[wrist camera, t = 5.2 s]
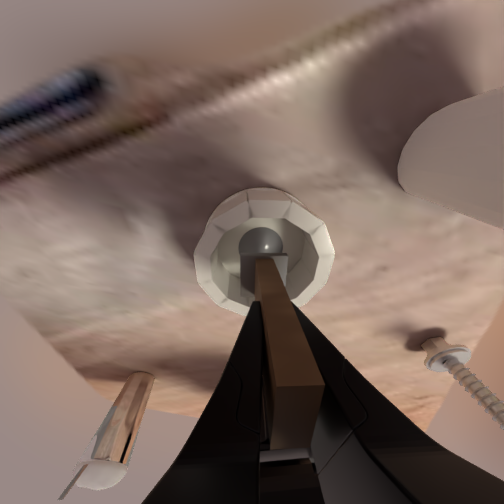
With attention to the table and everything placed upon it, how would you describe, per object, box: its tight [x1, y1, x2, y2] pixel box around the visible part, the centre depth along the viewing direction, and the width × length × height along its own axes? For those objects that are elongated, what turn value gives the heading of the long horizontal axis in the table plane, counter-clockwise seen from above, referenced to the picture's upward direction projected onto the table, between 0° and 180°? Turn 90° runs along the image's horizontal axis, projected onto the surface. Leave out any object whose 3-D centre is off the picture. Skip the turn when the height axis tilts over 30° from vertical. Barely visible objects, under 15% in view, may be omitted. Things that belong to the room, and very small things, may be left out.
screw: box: [421, 337, 504, 430], centre depth 17 cm, size 13×5×5 cm
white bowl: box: [193, 187, 335, 316], centre depth 13 cm, size 9×9×4 cm
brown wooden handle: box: [240, 253, 325, 450], centre depth 9 cm, size 3×3×9 cm
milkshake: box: [58, 372, 155, 500], centre depth 19 cm, size 4×5×10 cm
